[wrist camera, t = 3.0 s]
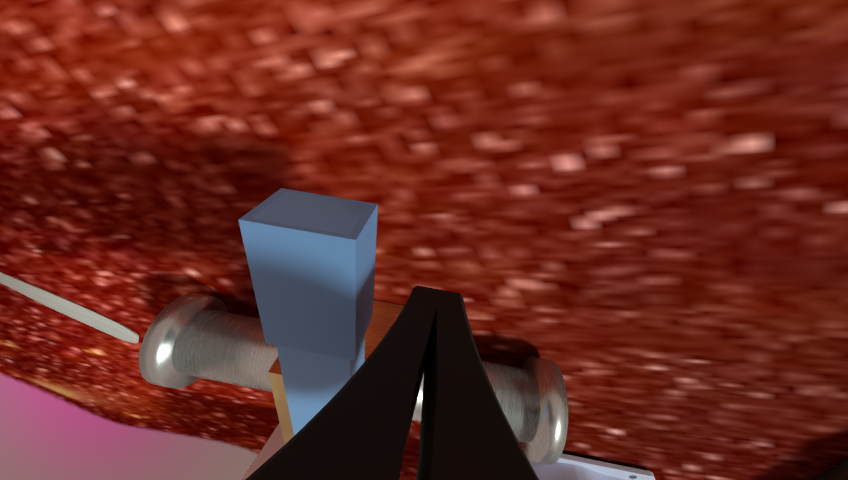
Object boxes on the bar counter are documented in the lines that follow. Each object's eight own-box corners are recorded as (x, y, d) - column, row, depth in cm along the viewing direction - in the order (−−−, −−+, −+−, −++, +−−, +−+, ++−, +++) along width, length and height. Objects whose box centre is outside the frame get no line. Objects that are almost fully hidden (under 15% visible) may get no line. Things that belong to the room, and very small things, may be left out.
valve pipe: (557, 333, 17) (586, 435, 12) (524, 398, 20) (539, 497, 16) (199, 267, 18) (109, 340, 13) (222, 339, 21) (155, 417, 17)
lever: (372, 451, 15) (359, 505, 13) (308, 438, 15) (286, 489, 13) (389, 205, 8) (365, 250, 6) (270, 186, 8) (215, 223, 7)
